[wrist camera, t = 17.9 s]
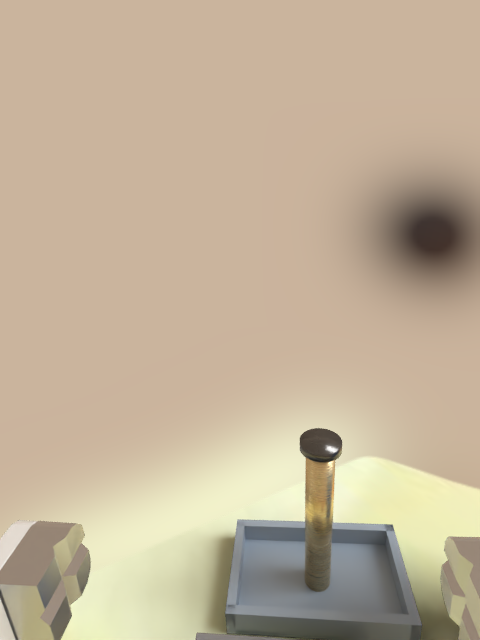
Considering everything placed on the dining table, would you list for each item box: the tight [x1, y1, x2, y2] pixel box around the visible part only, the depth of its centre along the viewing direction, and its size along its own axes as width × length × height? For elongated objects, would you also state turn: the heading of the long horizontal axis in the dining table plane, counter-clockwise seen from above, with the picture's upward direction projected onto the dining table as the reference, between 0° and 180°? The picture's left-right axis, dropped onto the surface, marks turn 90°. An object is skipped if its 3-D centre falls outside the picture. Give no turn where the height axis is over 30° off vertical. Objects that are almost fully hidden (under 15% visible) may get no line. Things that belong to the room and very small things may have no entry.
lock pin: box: [300, 428, 342, 592], centre depth 37 cm, size 3×3×16 cm
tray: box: [225, 520, 422, 640], centre depth 40 cm, size 16×10×2 cm, turn 84°
